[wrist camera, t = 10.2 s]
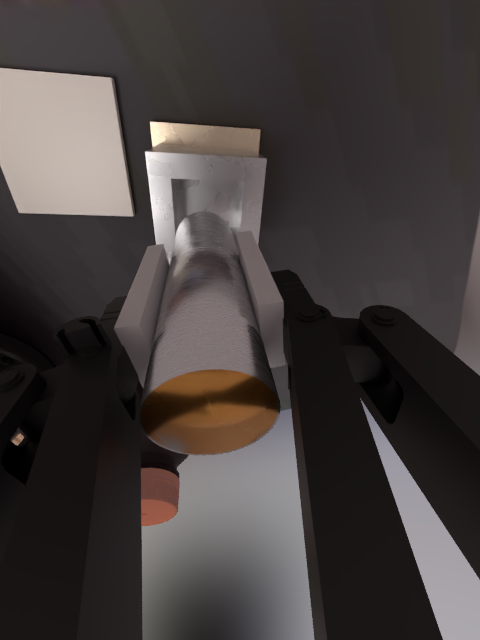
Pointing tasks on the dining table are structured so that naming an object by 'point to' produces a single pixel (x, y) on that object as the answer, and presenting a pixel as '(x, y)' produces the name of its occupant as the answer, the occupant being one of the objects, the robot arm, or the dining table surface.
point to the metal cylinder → (207, 350)
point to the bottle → (158, 479)
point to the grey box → (204, 177)
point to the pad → (63, 144)
